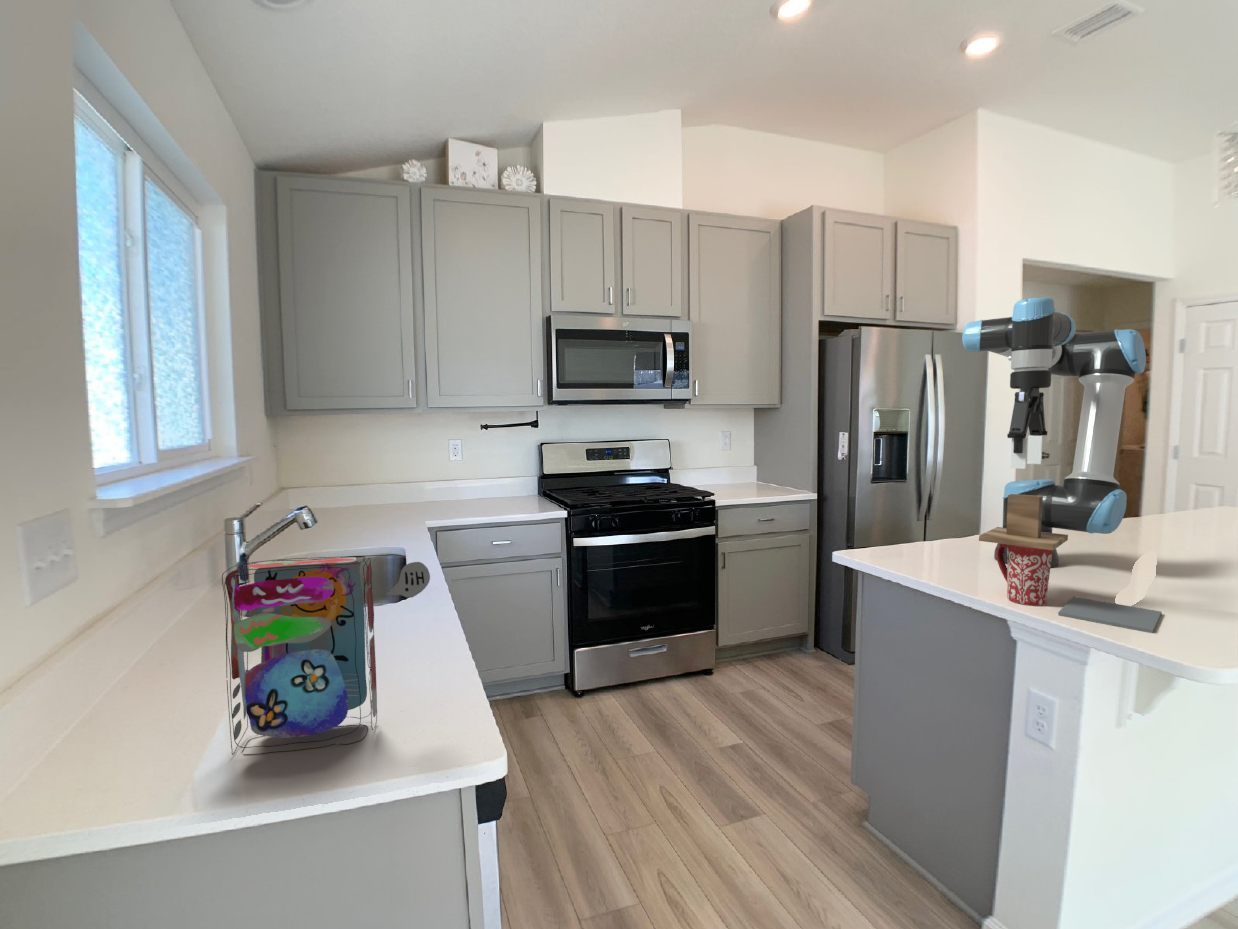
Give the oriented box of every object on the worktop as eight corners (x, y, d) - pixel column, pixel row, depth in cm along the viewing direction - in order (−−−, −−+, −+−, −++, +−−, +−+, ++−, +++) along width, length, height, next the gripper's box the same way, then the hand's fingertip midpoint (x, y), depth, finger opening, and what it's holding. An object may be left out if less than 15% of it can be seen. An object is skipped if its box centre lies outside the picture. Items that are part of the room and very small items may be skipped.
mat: (1073, 599, 138) (1073, 596, 138) (1161, 614, 127) (1161, 611, 127) (1058, 615, 128) (1058, 612, 128) (1152, 633, 117) (1153, 630, 117)
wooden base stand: (997, 531, 148) (998, 490, 147) (1067, 540, 138) (1069, 495, 137) (978, 540, 138) (980, 496, 137) (1053, 550, 128) (1055, 502, 127)
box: (437, 713, 90) (431, 549, 87) (434, 734, 84) (426, 559, 81) (249, 734, 84) (238, 561, 82) (231, 759, 78) (218, 572, 76)
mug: (1062, 605, 134) (1065, 545, 132) (1026, 608, 132) (1029, 547, 131) (1015, 589, 146) (1017, 534, 145) (982, 592, 144) (984, 535, 143)
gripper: (1025, 373, 146) (1021, 461, 148) (994, 369, 129) (990, 469, 131) (1063, 371, 140) (1059, 462, 142) (1036, 367, 123) (1032, 471, 125)
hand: (1026, 466), depth 136 cm, fingers open, 13 cm apart
